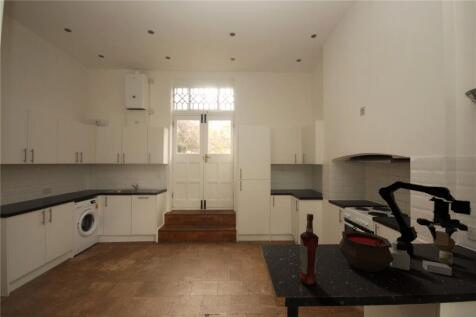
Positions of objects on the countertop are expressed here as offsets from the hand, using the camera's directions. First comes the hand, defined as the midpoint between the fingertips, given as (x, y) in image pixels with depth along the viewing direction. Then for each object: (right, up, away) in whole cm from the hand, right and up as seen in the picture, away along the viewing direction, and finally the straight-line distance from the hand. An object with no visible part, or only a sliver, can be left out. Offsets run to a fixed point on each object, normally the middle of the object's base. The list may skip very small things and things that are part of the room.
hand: (440, 240), depth 109 cm
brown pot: (-43, -10, -5) cm, 45 cm away
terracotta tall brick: (0, -2, 0) cm, 2 cm away
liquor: (-77, -9, -22) cm, 80 cm away
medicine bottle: (-25, -11, -4) cm, 28 cm away
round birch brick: (+5, -12, +2) cm, 13 cm away
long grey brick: (-10, -12, -8) cm, 17 cm away
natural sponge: (+18, -13, +16) cm, 27 cm away
